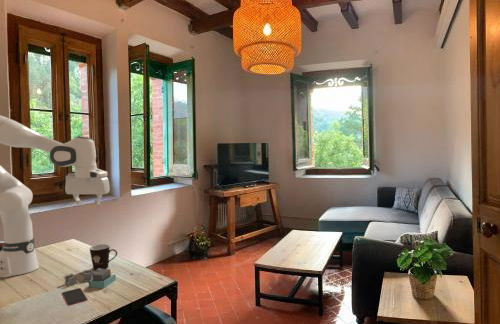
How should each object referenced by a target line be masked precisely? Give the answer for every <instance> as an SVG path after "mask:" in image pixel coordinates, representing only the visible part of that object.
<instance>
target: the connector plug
mask: <svg viewBox="0 0 500 324" xmlns="http://www.w3.org/2000/svg"><path fill="white" fill-rule="evenodd" d="M95 272H96V273H94V274H93V277H92V278H93V281H105V280H106V279H108V278H109V277H111V276H112V274H113V273H114V270H113V269H109V268H107V269H101V270H99V271H95Z"/></svg>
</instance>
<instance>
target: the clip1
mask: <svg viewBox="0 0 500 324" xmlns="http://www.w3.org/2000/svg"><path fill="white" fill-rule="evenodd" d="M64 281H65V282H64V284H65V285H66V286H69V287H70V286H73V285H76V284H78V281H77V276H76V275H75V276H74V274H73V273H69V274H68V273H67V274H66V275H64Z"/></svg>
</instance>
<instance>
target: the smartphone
mask: <svg viewBox="0 0 500 324" xmlns="http://www.w3.org/2000/svg"><path fill="white" fill-rule="evenodd" d="M61 295H62V297H63V300H64V301H65V304H66V305H67V307H68V306H69V307H70V306H73V305H77V304H81V303H85V302H87V301H88V297H87V295H86V294H85V293H84V291H83V289H82V288H81V287H80V288H75V289H71V290H66V291H63V292H61Z"/></svg>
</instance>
